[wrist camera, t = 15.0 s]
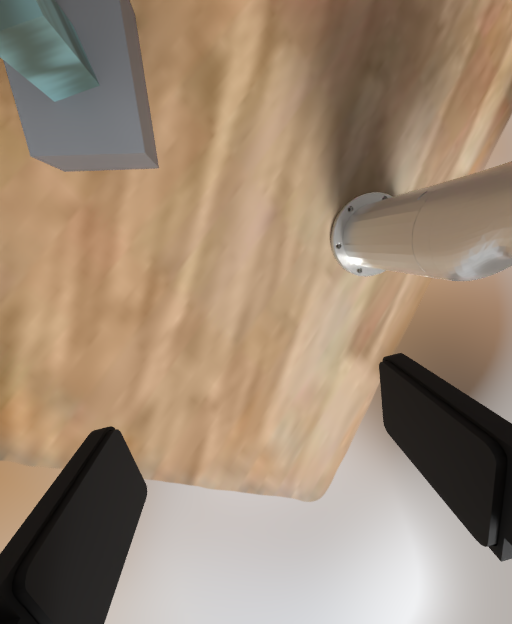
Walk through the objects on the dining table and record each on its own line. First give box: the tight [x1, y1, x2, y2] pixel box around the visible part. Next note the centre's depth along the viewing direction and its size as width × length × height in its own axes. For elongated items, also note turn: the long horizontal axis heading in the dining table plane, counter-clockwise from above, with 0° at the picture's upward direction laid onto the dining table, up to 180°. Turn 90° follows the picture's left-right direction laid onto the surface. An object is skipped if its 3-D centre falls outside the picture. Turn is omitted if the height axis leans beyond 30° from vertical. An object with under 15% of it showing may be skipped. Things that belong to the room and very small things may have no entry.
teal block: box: [0, 0, 100, 102], centre depth 20 cm, size 5×5×8 cm
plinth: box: [3, 0, 159, 172], centre depth 27 cm, size 12×16×6 cm
